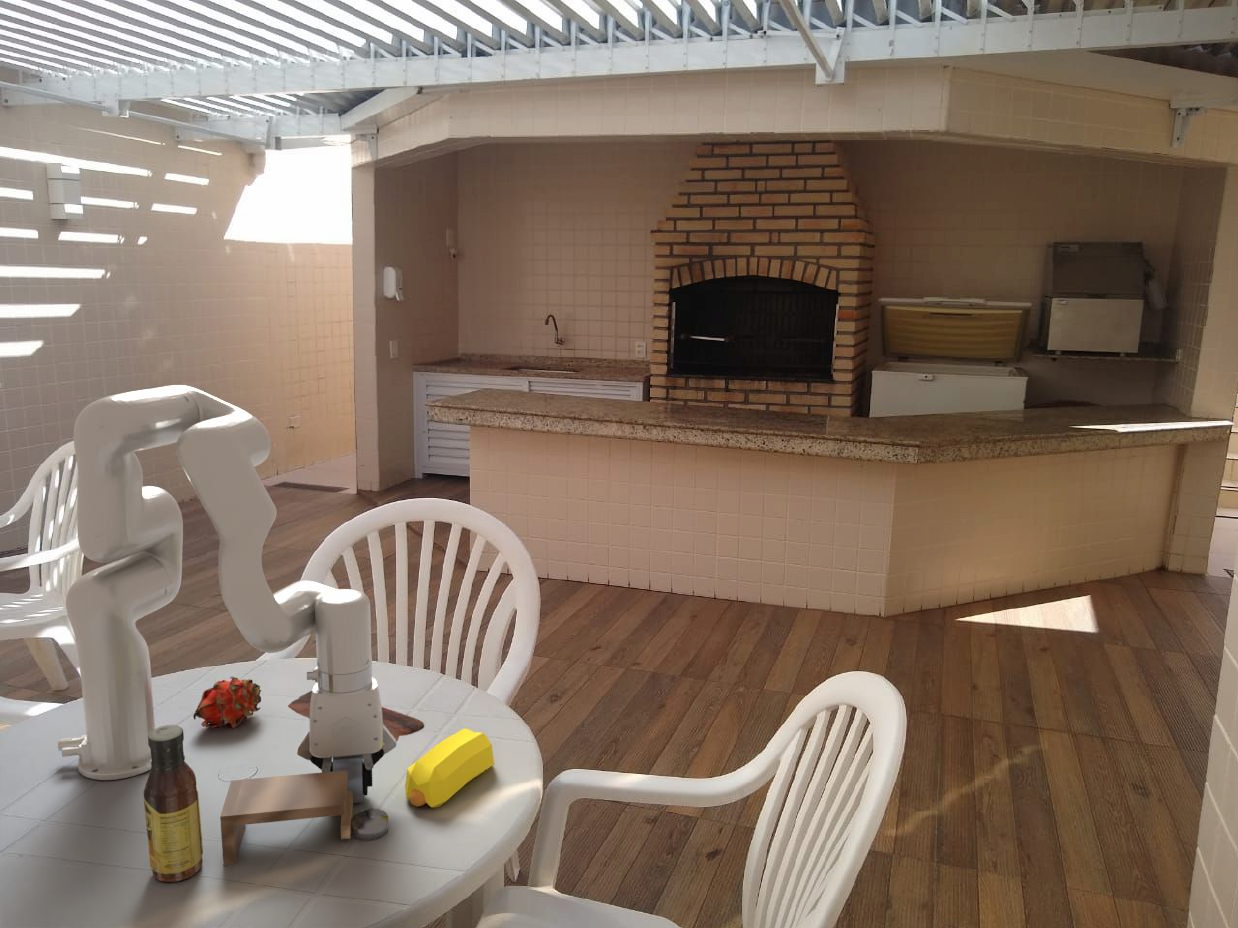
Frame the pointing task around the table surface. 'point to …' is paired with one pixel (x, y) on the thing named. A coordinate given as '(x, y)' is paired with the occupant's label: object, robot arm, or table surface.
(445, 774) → the yellow faceted part
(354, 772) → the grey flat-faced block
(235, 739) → the table surface
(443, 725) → the table surface
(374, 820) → the steel token
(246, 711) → the dragon fruit
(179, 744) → the sauce bottle
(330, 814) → the walnut shelf
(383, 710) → the wooden tablet
